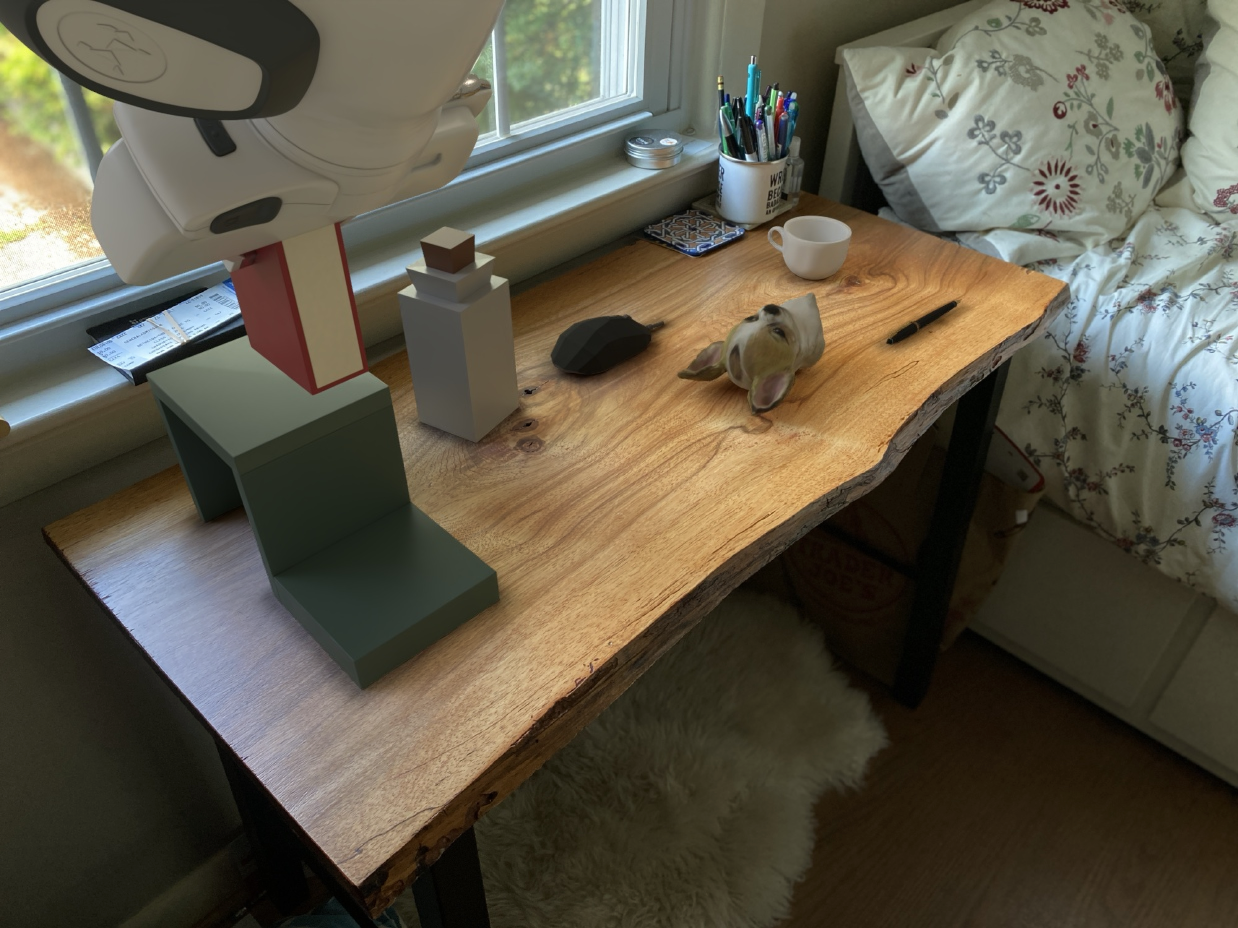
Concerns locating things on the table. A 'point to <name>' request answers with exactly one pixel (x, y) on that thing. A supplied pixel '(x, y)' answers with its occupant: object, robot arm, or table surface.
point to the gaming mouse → (600, 343)
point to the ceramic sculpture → (765, 352)
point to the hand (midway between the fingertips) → (275, 243)
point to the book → (303, 309)
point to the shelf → (322, 504)
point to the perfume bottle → (459, 337)
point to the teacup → (813, 245)
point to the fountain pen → (919, 323)
